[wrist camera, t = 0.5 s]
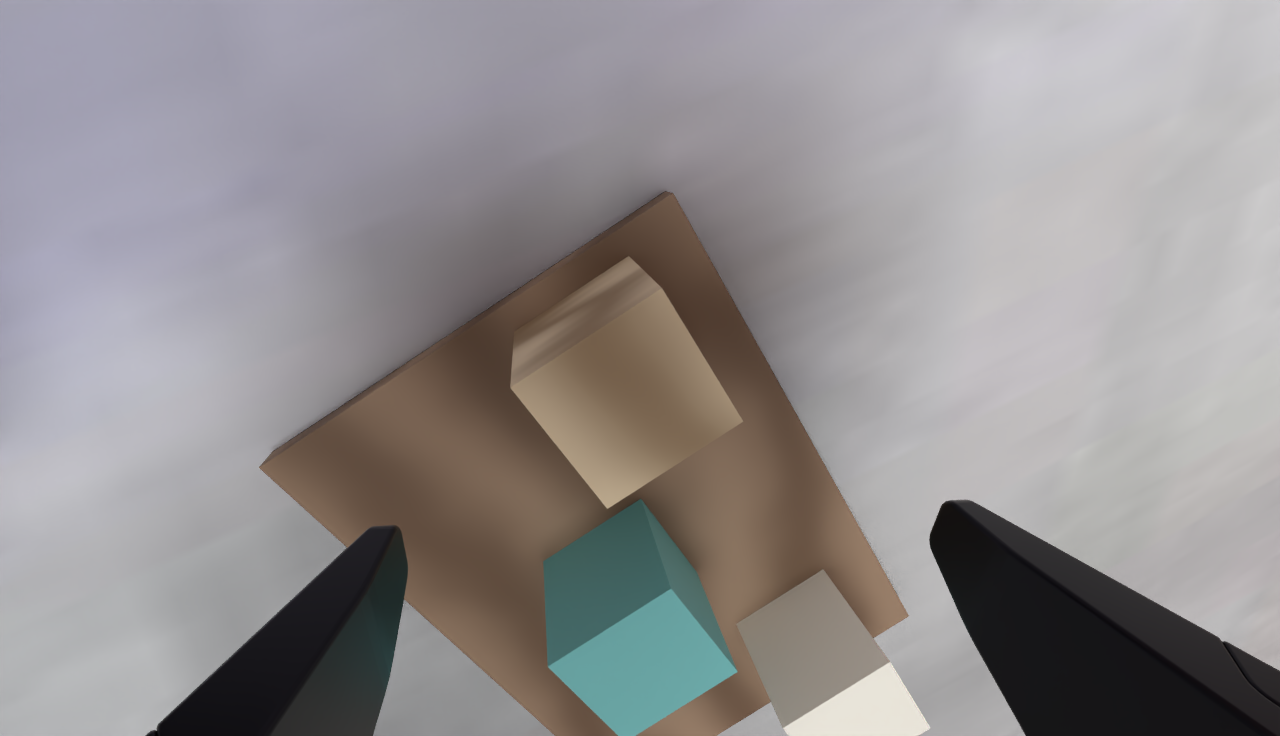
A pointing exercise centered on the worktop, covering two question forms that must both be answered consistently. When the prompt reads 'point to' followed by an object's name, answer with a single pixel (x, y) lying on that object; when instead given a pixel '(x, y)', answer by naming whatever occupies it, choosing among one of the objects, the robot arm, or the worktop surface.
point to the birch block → (619, 382)
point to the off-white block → (826, 667)
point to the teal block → (631, 623)
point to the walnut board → (582, 486)
